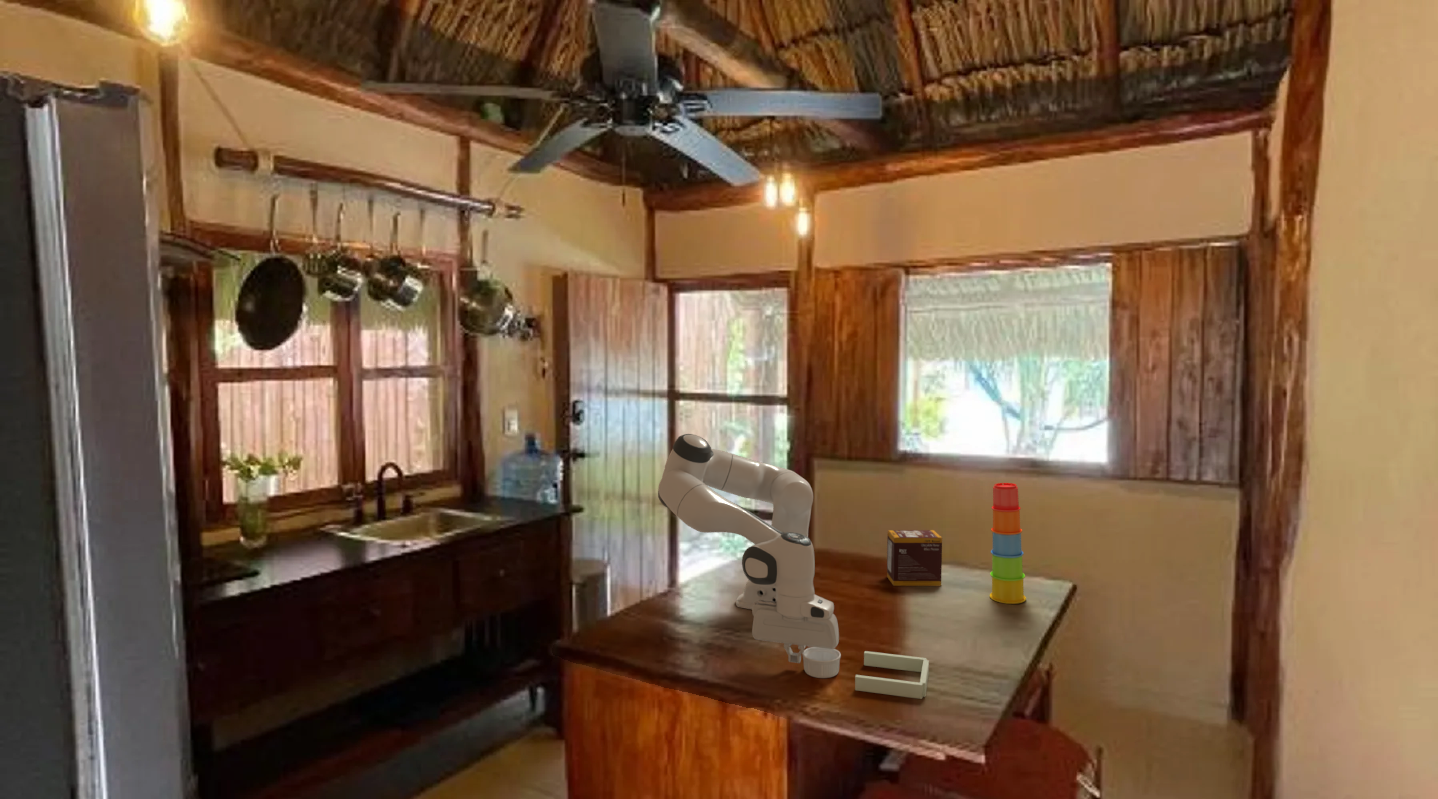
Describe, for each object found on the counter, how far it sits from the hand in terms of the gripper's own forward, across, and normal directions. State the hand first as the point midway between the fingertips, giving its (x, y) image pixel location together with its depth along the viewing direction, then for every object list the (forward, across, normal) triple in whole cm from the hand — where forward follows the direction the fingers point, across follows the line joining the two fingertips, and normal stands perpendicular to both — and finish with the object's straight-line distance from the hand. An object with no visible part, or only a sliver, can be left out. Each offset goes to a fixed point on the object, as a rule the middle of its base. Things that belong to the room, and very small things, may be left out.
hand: (794, 661), depth 183 cm
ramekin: (+2, +6, 0) cm, 7 cm away
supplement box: (+2, +20, +80) cm, 82 cm away
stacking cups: (+1, +48, +70) cm, 85 cm away
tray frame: (+2, +22, 0) cm, 22 cm away
